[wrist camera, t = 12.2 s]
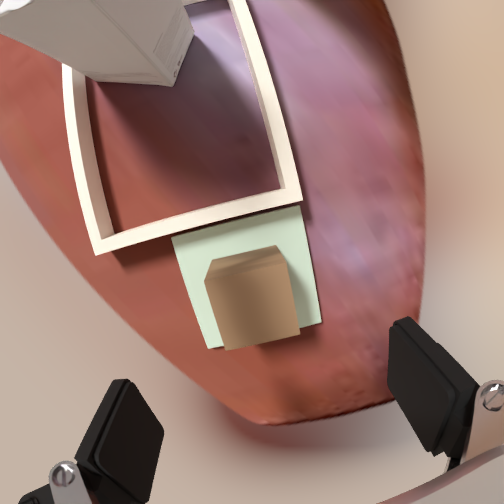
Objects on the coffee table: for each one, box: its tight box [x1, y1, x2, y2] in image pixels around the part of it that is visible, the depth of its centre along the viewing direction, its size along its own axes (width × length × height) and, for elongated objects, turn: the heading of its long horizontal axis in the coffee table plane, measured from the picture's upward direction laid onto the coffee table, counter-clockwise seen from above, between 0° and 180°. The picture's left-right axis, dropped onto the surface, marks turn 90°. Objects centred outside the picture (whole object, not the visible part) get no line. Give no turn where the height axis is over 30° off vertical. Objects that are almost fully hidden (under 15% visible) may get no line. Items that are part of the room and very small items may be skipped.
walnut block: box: [204, 245, 300, 350], centre depth 20 cm, size 5×5×5 cm
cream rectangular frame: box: [62, 0, 303, 256], centre depth 18 cm, size 16×21×2 cm
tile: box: [171, 205, 321, 349], centre depth 22 cm, size 10×10×1 cm
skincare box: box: [0, 0, 194, 87], centre depth 11 cm, size 8×6×15 cm
